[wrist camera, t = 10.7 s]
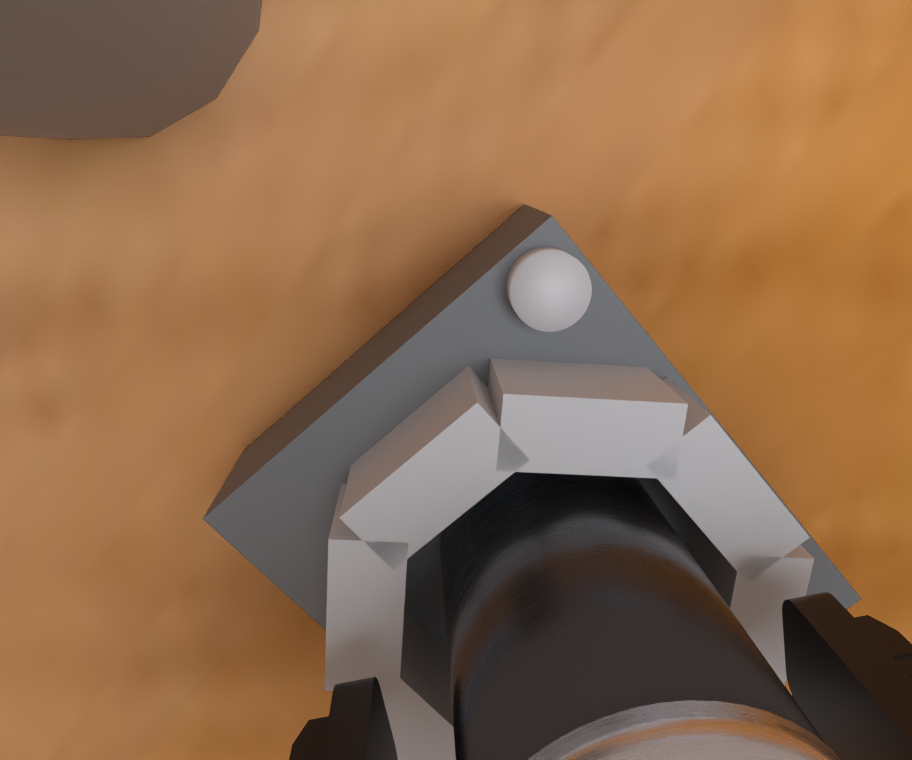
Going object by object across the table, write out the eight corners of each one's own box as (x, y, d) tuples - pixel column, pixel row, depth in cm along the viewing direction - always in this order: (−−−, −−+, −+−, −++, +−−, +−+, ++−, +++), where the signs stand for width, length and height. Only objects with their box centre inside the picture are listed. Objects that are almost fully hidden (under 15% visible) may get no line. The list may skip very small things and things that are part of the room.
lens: (653, 425, 16) (926, 723, 8) (662, 623, 18) (898, 1058, 9) (424, 455, 16) (439, 791, 8) (451, 652, 18) (489, 1120, 9)
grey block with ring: (783, 521, 22) (929, 666, 15) (520, 716, 23) (558, 919, 17) (524, 204, 19) (577, 226, 13) (243, 450, 20) (166, 579, 14)
